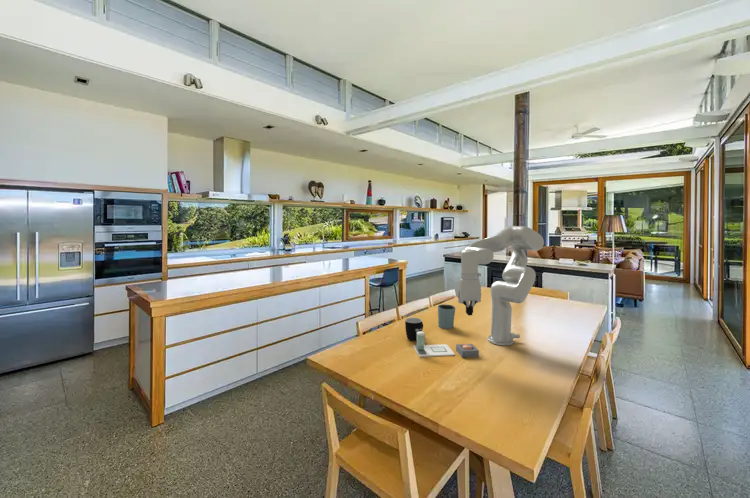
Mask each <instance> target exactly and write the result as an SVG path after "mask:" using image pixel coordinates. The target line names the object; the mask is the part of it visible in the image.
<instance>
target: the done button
mask: <svg viewBox="0 0 750 498" xmlns="http://www.w3.org/2000/svg"><path fill="white" fill-rule="evenodd" d="M464 344H465V345H463V347H462V348H463V349H464V350H469V349H472V346H471V345H467V344H468V343H464Z"/></svg>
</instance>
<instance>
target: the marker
mask: <svg viewBox="0 0 750 498" xmlns="http://www.w3.org/2000/svg"><path fill="white" fill-rule="evenodd" d="M425 333H426V332H424V331H423V330H422V331H419V332H417V341H416V345H417V348H418V350H419V351H422V350H424V348H425V345H426V344H425V341H426V339H425V338H426V337H425V336H426V335H425Z"/></svg>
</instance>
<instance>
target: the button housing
mask: <svg viewBox="0 0 750 498" xmlns="http://www.w3.org/2000/svg"><path fill="white" fill-rule="evenodd" d="M465 344H467V345H471V346H472V349H469V350H464V349H463V348H462V347H463V345H465ZM455 349H456V350H455V352H457V353H458V355H459V356H460V357H461V358H476V357H478V358H479V355H480V354H479V353H480V350H479V349H478V348H477V347H476V346H475V345H474V344H473V343H459V344H455Z"/></svg>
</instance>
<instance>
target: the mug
mask: <svg viewBox="0 0 750 498" xmlns="http://www.w3.org/2000/svg"><path fill="white" fill-rule="evenodd" d="M404 321H405V322H404V323H405V324H404V325H405V328H404V329H405V333H406V334H405V335H406V339H407V340H408V341H413V342H417V332H419V331H422V332H423V329H424V323H423V320H422V319H421V318H419V317H407V318H406V319H405V320H404Z"/></svg>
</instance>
